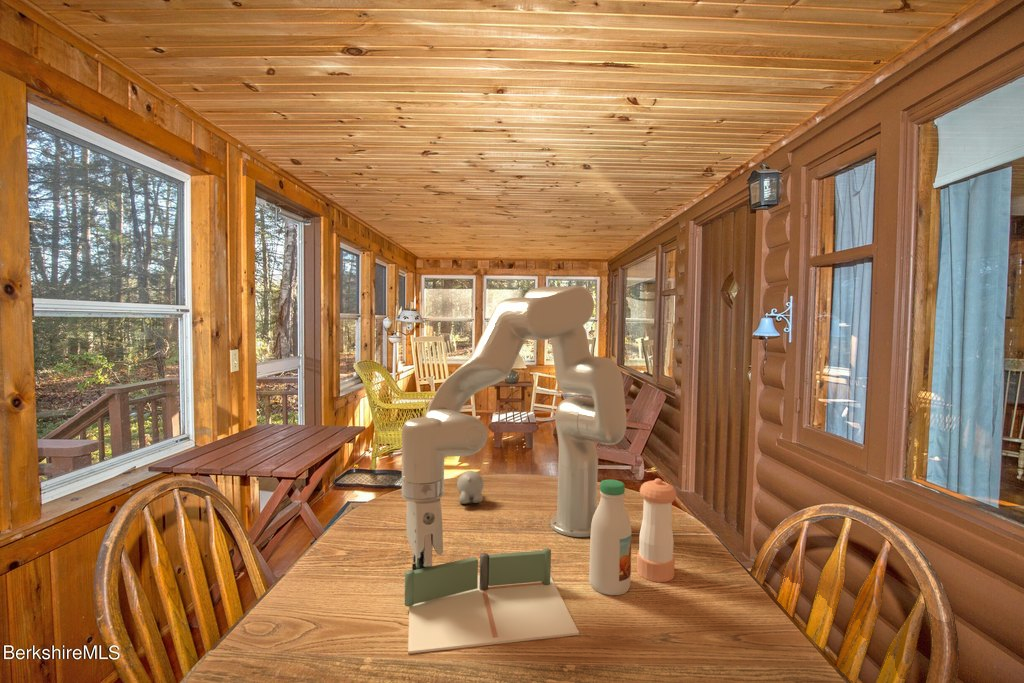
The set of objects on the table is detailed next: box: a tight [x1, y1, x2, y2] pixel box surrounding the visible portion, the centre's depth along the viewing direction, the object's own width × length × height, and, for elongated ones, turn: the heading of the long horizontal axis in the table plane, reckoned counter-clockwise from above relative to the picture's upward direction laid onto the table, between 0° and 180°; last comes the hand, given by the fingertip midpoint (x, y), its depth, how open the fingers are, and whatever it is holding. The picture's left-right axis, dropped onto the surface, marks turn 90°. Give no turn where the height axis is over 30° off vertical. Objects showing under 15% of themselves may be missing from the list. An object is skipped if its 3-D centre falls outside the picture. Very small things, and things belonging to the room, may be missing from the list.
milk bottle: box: [588, 479, 632, 596], centre depth 93 cm, size 8×8×20 cm
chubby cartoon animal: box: [456, 470, 485, 505], centre depth 135 cm, size 7×12×8 cm, turn 8°
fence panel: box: [404, 556, 479, 607], centre depth 87 cm, size 13×2×6 cm, turn 116°
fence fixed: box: [479, 547, 552, 591], centre depth 92 cm, size 14×2×7 cm, turn 101°
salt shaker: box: [636, 477, 677, 583], centre depth 98 cm, size 7×7×19 cm
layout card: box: [407, 574, 580, 655], centre depth 86 cm, size 27×20×1 cm
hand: (421, 585), depth 89 cm, fingers closed
